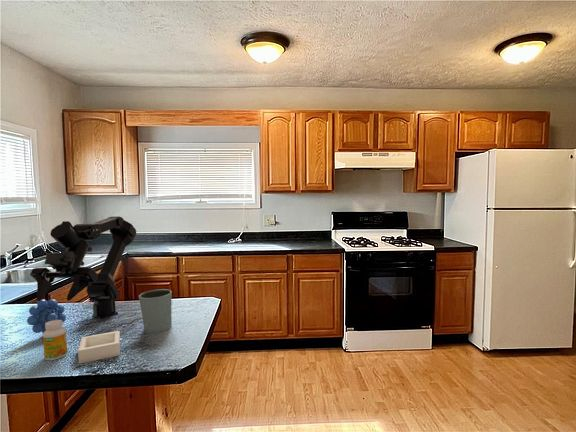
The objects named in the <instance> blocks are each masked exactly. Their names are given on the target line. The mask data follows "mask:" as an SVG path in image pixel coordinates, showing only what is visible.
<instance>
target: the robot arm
mask: <svg viewBox="0 0 576 432" xmlns="http://www.w3.org/2000/svg"><path fill="white" fill-rule="evenodd" d="M107 231H109V233H110V234H111V238H112V240H113V241H112V244H111V246H110V248H109V251H108V253H107V255H106V258H105V260H104V262H103V264H102V267H101V269H100V271H99V272H97V271H96V270H94V268H93V267H92V266H84V265H85V262H84V259H85V257H86V254H87V253H88V252H92V251H93V248H92V247H91V244H90V243H88V242H87V241H96V240H97V239H99V238H100V237H101V236H102V235H101V234H102V233H104V232H107ZM49 235H50V237H51V238H53V239H54V240H55V242H57V244H59V245H60V246H61V247H62V248H63V249H65V251H64V252H62V253H60V252H47V253H46V255H45V259H44V260H45V261H44V265H51V268H52V269H53V270H55V271H51V270H50V269H49V268H47V267H33V268H32V270H31V271H30V273H29V276H30V277H32V279H33V280H35V281H36V283H37V284H36V285H37V288H36V289H37V291H36V301H37V302H38V301H40V300H43V299H44V297H45V296H46V294H47V293H48V292H49V290H50V289H51V287H52V286H53V284H52V283H53V282H54V281H55V279H72V278H73V281H72V285H71V287H70V289H69V291H68V294H67V296H66V301H72V299H73V298H75V297H76V296H77V295H78V294H80V293H81V291H82V290H85V288H86V293H87V296H88V300H89V301H90V302H91V301H93V304H92V312H93V313H92V316H93V317H95V318H98V319H105V318H108V317H111V316H115V315H117V314H119V312H118V311H116V299H118V298H119V295H120V291H119V289H118V288H117V287H116V281H115V279H114V276H115V274H116V271H117V269H118V266H119V264H120V261H121V259H122V258H123V257H122V256H123V254H124V252H125V250H126V248H127V246H129V245H130V244H131V243H132V242H133V241H134V239H135V237H136V236H137V229H136V228H135V226H134V225H133V224H132V223H131V222H129V221H126V220H124V218H123V217H122V216H119V215H118V216H109V217H107V218H104V219H100V220H98V221H95V222H92V223H78V224H77V223H76V224H74V225H72V223H71V222H70V221H69V220H68V221H65V220H64V221H62V222H61V223H60V224H58V225H56V226H54V227H53V228H51V230H50V234H49Z"/></svg>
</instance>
